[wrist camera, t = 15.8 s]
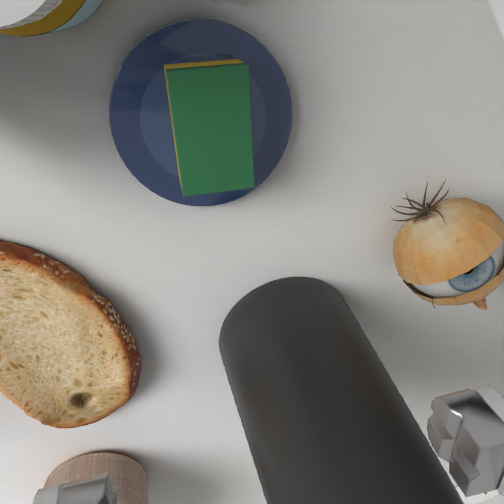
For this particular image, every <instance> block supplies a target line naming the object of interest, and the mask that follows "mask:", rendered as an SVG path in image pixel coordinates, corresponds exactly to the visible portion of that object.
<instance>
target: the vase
mask: <svg viewBox="0 0 504 504" xmlns="http://www.w3.org/2000/svg"><path fill="white" fill-rule="evenodd" d="M219 348H220V353H221V357H222V361H223V364H224V367H225V370H226V374H227V377H228V380H229V384H230V386H231V390H232V393H233V396H234V400H235V403H236V406H237V409H238V413H239V416H240V418H241V422H242V426H243V428H244V431H245V435H246V438H247V441H248V444H249V448H250V451H251V454H252V456H253V460H254V464H255V467H256V469H257V473H258V477H259V480H260V482H261V485H262V489H263V493H264V496H265V498H266V501H267V504H464V503H463V501H462V499H461V497H460V495H459V493H458V491H457V490H456V488H455V487H454V485H453V484H452V482H451V480H450V478H449V476H448V474H447V473H446V471H445V470H444V468H443V466H442V465H441V463H440V461H439V459H438V457H437V455H436V454H435V452H434V451H433V449H432V448H431V446H430V444H429V442H428V440H427V439H426V437H425V435H424V434H423V432H422V431H421V429H420V427H419V425H418V423H417V422H416V420H415V419H414V417H413V415H412V413H411V411H410V410H409V408H408V406H407V405H406V403H405V401H404V399H403V397H402V396H401V394H400V393H399V391H398V389H397V387H396V385H395V384H394V382H393V381H392V379H391V377H390V375H389V374H388V372H387V370H386V369H385V367H384V365H383V363H382V362H381V360H380V359H379V357H378V355H377V353H376V351H375V350H374V348H373V347H372V345H371V343H370V341H369V340H368V338H367V337H366V334H365V333H364V331H363V330H362V328H361V326H360V324H359V323H358V321H357V320H356V318H355V316H354V314H353V313H352V311H351V309H350V307H349V306H348V304H347V303H346V301H345V300H344V298H343V297H342V295H341V294H340V293H339V292H338V291H337V290H336V289H335V288H333V287H332V286H330V285H328V284H327V283H325V282H322V281H320V280H316V279H312V278H306V277H290V278H283V279H279V280H275V281H272V282H269V283H266V284H264V285H262V286H260V287H258V288H256V289H254V290H253V291H251V292H250V293H248V294H247V295H246V296H244V297H243V298H242V299H241V300H240V301H239V302H238V303H237V304H236V305H235V306H234V307H233V308H232V309H231V311H230V312H229V314H228V315H227V317H226V319H225V321H224V323H223V326H222V328H221V332H220V338H219Z"/></svg>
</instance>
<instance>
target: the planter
mask: <svg viewBox="0 0 504 504" xmlns="http://www.w3.org/2000/svg"><path fill="white" fill-rule="evenodd" d="M107 474H109V475H110V477H111V479H112V482H113V490H112V492H114V493H116V494H117V495H118V498H119V502H120V504H148V479H147V474H146V471H145V469H144V468H143V467H142V466H141V465H140V464H139V463H138V462H137V461H135V460H133V459H132V458H129V457H127V456H125V455H121V454H116V453H108V452H102V453H90V454H86V455H81V456H78V457H75V458H73V459H71V460H69V461H67V462H65V463H63V464H61V465H60V466H58V467H57V468H56V469H55V470H54V471H53V472H52V473H51V474H50V475H49V476H48V478H47V480H46V482H45V485H44V488H47V487H52V486H56V485H60V484H66V483H70V482H75V481H80V480H84V479H89V478H93V477H98V476H103V475H107Z"/></svg>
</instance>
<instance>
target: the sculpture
mask: <svg viewBox="0 0 504 504" xmlns="http://www.w3.org/2000/svg"><path fill="white" fill-rule="evenodd" d="M444 183H445V182H444ZM444 183H443V185H444ZM427 185H428V183H427ZM443 185H442V186H443ZM441 188H442V187H441ZM441 188H440V190H441ZM426 190H427V187H426ZM426 190H425V194H424V200H423V205H421V204H419V203H417V202H415V201H413V200H410V199H407V200H408V201H409V200H410V201H412V202H414V203H416V204H417V205H419V206H421V207H422V209H420V208H416V207H414V206H413V205H412V204H411V202H410V201H409V203H410V205H411V206H412V207H405V208H410V209H415V210H417V211H418V212H416V213H409V214H406V213H401V212H398V211H396V210H395V209H394V210H395V211H396V212H398V213H400V214H404V215H413V216H411V217H410V218H409V219H407V220H395V221H406V223H405V224H404V225H403V226H402V228H401V229H400V231H399V232H398V234H397V236H396V238H395V240H394V250H393V254H394V262H395V265H396V268H397V271H398V274H399V276H401V277H402V278H403V282H404V283H405V284H406V285H407V286H408V287H409V288H410V289H411V290H412V291H413V292H414V293H415V294H417V295H418V296H419V297H421V298H422V299H423V300H426V301H429V302H431V303H432V304H433V303H434V304H437V305H463V304H467V303H471V302H473V303H474V304H475V305H476V306H477V307H479V308H480V309H484V310H486V309H487V305H486V301H485V297H486V296H487V295H488V294H490V293H491V292H492V291H493V290H494V289H496V288H497V287H498V286H499V285H500V284H501V283H502V281H503V280H504V222H503V221H502V219H501V217H500V216H499V215H497V214H496V213H495V212H494V211H493V210H492V209H491V208H490V207H489V206H486V205H483V204H481V203H478V202H475V201H473V200H470V199H467V198H456V199H446V200H442V199H443V198H444V197H445V196H446V194H447V193H448V191H447V193H446V194H445V195H444V196H443V197H442V198H441V199H440V200H439V201H437V202H435V203H433V201H434V200H435V198H436V197H437V195H438V193H439V192H440V190H439V191H438V193H437V194H436V195H435V197H434V198H433V199H432V201H431V202H430V203H429V204H428V203H426V205H427V206H426V207H425V197H426ZM448 190H449V189H448ZM406 194H407V192H406ZM407 198H408V196H407ZM403 199H406V198H403ZM441 200H442V201H441ZM432 203H433V204H432ZM390 207H391V206H390ZM398 207H404V206H398ZM391 208H392V207H391ZM392 209H393V208H392ZM433 306H434V305H433ZM434 308H435V307H434Z"/></svg>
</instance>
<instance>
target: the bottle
mask: <svg viewBox="0 0 504 504" xmlns="http://www.w3.org/2000/svg"><path fill="white" fill-rule="evenodd" d="M101 2H102V0H0V33H1V34H5V35H10V36H32V35H41V34H46V33H50V32H53V31H57V30H61V29H65V28H69V27H72V26H75V25H77V24H79V23H81V22H83V21H85V20H86V19H88V18H89V17H90V16H91V15H92V14H93V13H94V12H95V11H96V9H97V8H98V7H99V6H100V4H101Z"/></svg>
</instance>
